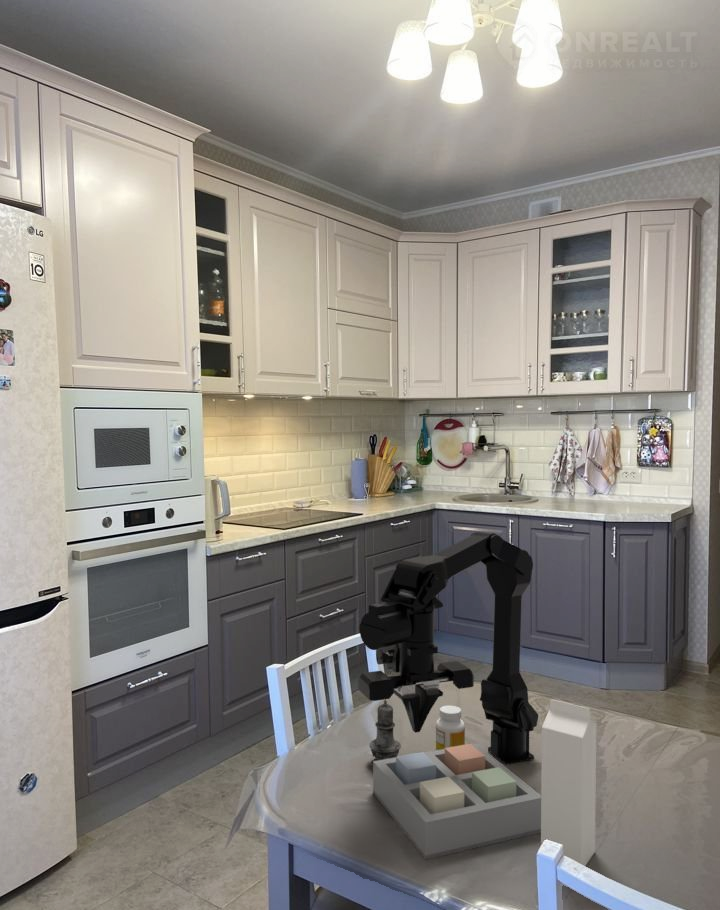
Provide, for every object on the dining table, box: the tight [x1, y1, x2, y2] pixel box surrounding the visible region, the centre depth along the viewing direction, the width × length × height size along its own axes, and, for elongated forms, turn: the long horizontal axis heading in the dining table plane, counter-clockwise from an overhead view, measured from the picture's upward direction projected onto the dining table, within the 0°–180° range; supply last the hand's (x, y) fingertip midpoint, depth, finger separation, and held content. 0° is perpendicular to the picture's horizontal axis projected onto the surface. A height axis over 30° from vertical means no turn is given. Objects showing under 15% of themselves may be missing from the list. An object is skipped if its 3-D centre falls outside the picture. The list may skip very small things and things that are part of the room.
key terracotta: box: [445, 743, 485, 775], centre depth 117 cm, size 5×5×4 cm
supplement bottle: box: [435, 705, 466, 751], centre depth 128 cm, size 5×5×10 cm
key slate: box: [396, 751, 436, 785], centre depth 113 cm, size 5×5×4 cm
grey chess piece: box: [369, 699, 402, 768], centre depth 127 cm, size 6×6×12 cm
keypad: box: [372, 743, 541, 861], centre depth 111 cm, size 20×20×5 cm
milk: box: [540, 699, 597, 866], centre depth 99 cm, size 6×6×22 cm
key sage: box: [472, 767, 516, 803], centre depth 108 cm, size 5×5×4 cm
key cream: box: [420, 777, 464, 814], centre depth 105 cm, size 5×5×4 cm
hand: (416, 731), depth 113 cm, fingers closed
